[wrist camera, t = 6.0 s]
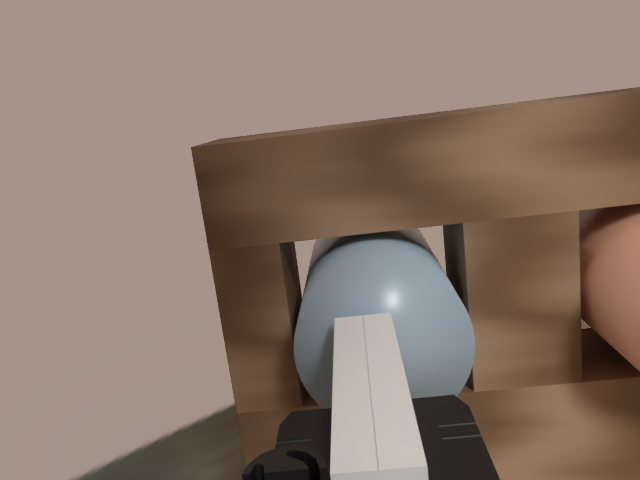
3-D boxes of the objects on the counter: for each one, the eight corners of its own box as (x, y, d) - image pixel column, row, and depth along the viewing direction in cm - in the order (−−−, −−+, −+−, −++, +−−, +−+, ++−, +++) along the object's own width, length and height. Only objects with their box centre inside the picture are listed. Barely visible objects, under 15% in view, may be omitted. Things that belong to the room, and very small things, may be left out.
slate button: (432, 310, 25) (423, 197, 24) (480, 422, 16) (469, 252, 15) (319, 321, 25) (304, 211, 24) (305, 437, 16) (282, 272, 15)
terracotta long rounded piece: (644, 289, 24) (645, 172, 23) (814, 394, 15) (829, 214, 14) (525, 300, 25) (520, 186, 23) (625, 409, 16) (625, 236, 15)
